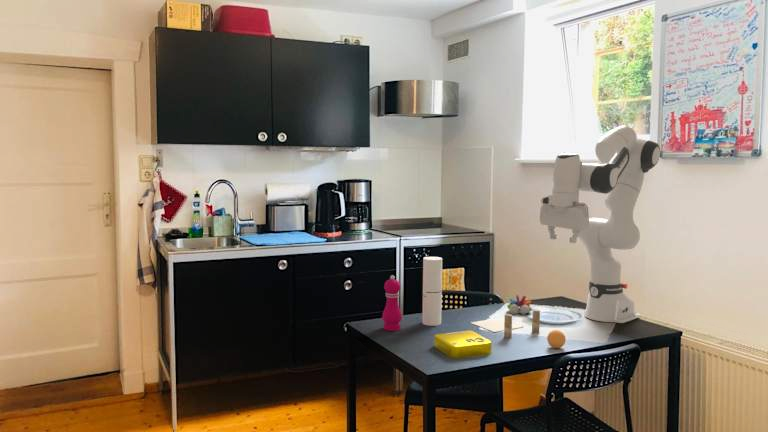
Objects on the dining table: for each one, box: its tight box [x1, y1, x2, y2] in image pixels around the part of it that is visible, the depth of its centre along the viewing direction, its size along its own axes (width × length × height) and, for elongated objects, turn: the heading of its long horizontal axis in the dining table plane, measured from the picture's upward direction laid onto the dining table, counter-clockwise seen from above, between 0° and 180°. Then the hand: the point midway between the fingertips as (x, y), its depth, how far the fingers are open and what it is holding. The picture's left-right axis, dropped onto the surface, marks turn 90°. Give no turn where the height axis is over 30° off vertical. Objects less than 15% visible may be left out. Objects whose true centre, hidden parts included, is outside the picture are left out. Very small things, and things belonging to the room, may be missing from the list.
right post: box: [531, 309, 541, 334], centre depth 242 cm, size 3×3×8 cm
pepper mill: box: [381, 274, 403, 332], centre depth 245 cm, size 7×7×20 cm
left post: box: [503, 313, 513, 339], centre depth 236 cm, size 3×3×8 cm
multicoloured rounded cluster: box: [506, 294, 533, 315], centre depth 270 cm, size 8×10×7 cm
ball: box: [546, 329, 567, 349], centre depth 225 cm, size 6×6×6 cm
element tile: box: [433, 330, 492, 359], centre depth 223 cm, size 15×15×5 cm
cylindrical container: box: [421, 256, 443, 327], centre depth 252 cm, size 7×7×25 cm
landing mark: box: [470, 317, 524, 333], centre depth 252 cm, size 14×14×1 cm
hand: (562, 240), depth 229 cm, fingers open, 8 cm apart
